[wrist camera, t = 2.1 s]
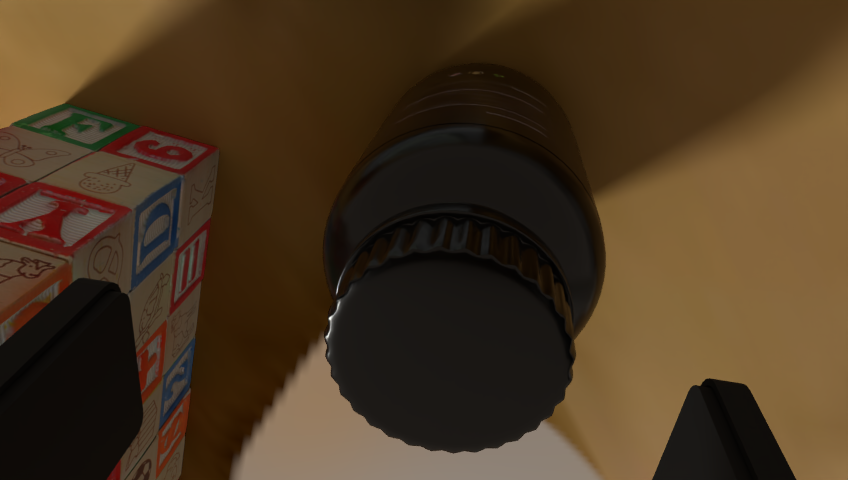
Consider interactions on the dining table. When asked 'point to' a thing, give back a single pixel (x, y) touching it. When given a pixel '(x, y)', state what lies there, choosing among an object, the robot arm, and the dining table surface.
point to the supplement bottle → (463, 263)
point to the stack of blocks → (113, 248)
